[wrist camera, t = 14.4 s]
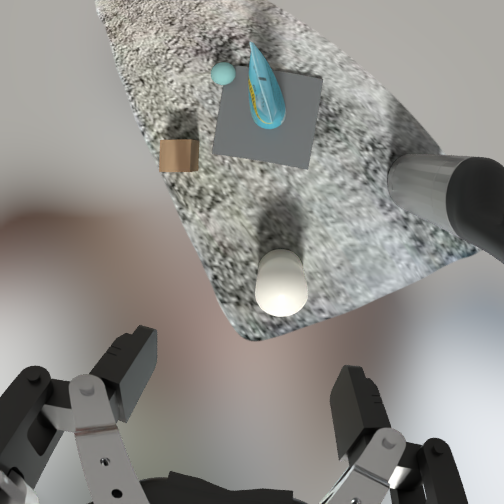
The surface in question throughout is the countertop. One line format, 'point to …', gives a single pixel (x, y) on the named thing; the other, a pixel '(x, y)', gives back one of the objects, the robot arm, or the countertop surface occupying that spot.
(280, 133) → the plate
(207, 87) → the countertop surface
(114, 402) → the robot arm
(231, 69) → the teal ball
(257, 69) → the tube
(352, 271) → the countertop surface
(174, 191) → the countertop surface
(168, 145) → the walnut block
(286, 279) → the white rounded cylinder
